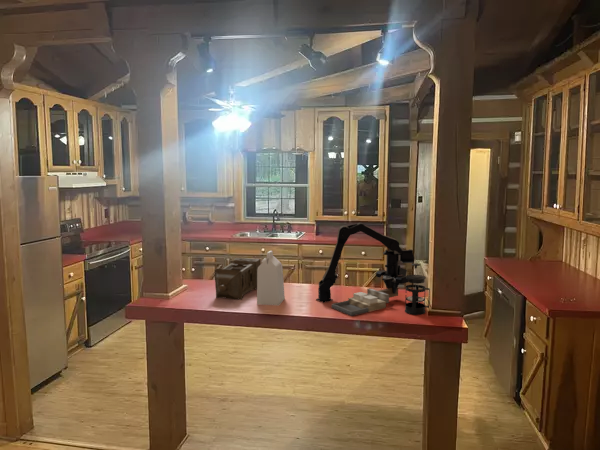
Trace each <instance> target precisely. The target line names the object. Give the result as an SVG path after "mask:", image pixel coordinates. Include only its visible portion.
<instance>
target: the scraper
mask: <svg viewBox="0 0 600 450" xmlns="http://www.w3.org/2000/svg"><path fill="white" fill-rule="evenodd" d="M366 291H367V292H366V294H368V295H372V296H375V297H378V299H379V300H382V301H385V302H386V304H389V303H390V298H394V297H397V296H399V287H397V290H396V292H395V294H393V291H392V288H388V289H387V288H384V289H380V290H377V289H374V288H367V290H366Z"/></svg>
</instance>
